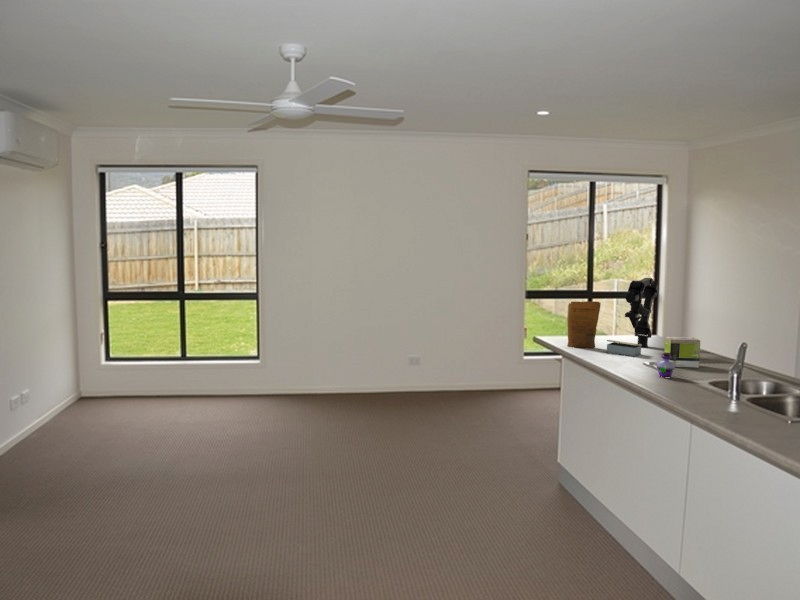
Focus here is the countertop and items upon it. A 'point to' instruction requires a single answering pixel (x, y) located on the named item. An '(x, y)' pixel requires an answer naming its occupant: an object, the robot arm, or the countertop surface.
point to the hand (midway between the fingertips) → (634, 328)
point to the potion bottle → (665, 365)
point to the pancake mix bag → (582, 323)
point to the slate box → (624, 349)
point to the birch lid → (624, 342)
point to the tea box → (683, 351)
